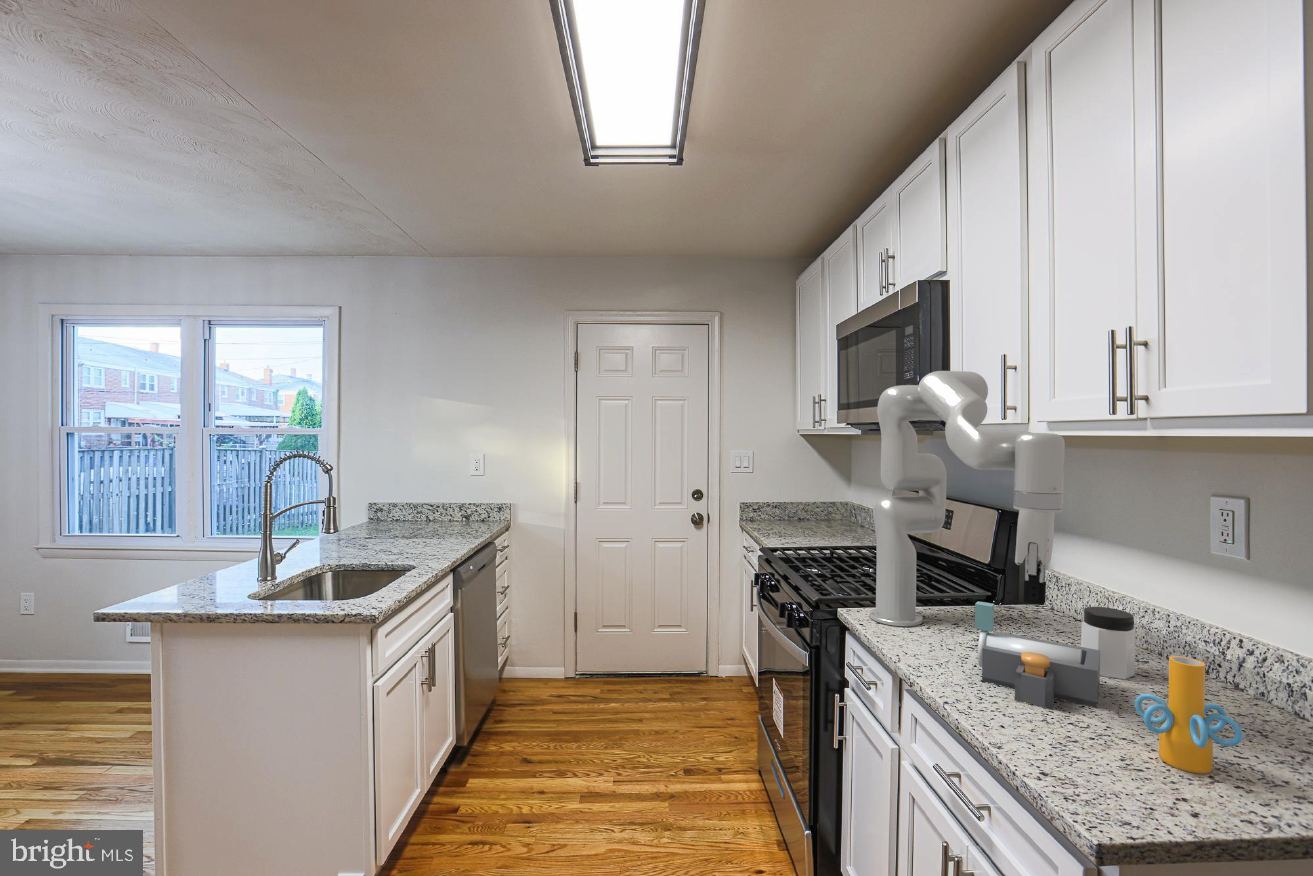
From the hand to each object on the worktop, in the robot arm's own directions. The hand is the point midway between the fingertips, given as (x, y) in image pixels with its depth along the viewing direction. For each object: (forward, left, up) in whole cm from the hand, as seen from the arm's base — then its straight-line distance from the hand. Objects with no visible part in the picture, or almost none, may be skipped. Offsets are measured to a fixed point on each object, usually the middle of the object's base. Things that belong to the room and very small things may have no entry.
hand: (1034, 602), depth 111 cm
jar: (-24, +10, -18) cm, 32 cm away
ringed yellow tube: (+12, +20, -18) cm, 29 cm away
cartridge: (-9, -2, -16) cm, 19 cm away
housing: (-6, 0, -17) cm, 18 cm away
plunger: (0, 0, -16) cm, 16 cm away
